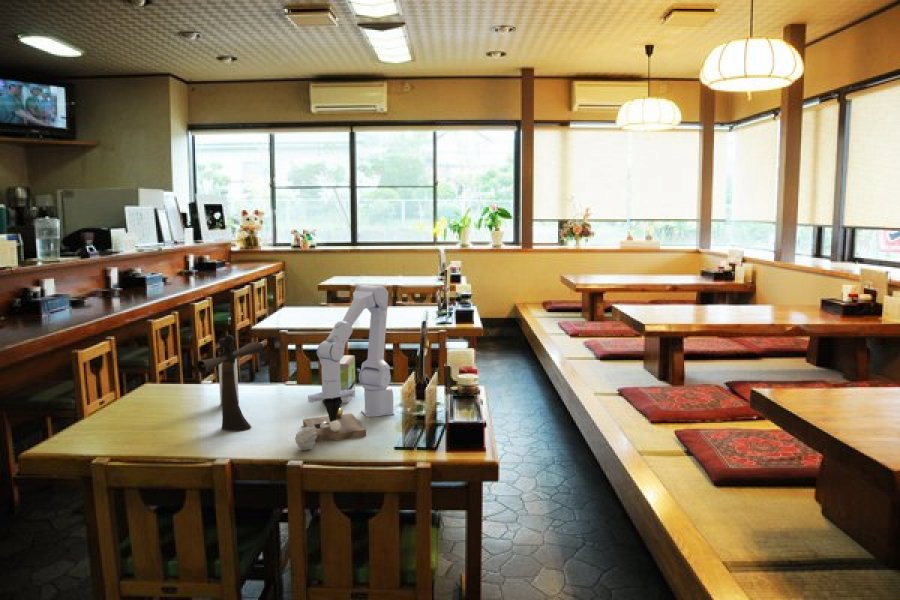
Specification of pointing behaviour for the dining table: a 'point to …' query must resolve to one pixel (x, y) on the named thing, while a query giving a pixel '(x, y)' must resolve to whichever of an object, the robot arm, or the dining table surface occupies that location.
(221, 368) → the travel mug
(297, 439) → the grey rounded lump
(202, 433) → the dining table surface
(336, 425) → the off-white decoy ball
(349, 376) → the tea box
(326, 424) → the steel ball
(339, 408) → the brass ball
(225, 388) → the t-shaped wooden sculpture
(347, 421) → the walnut board
